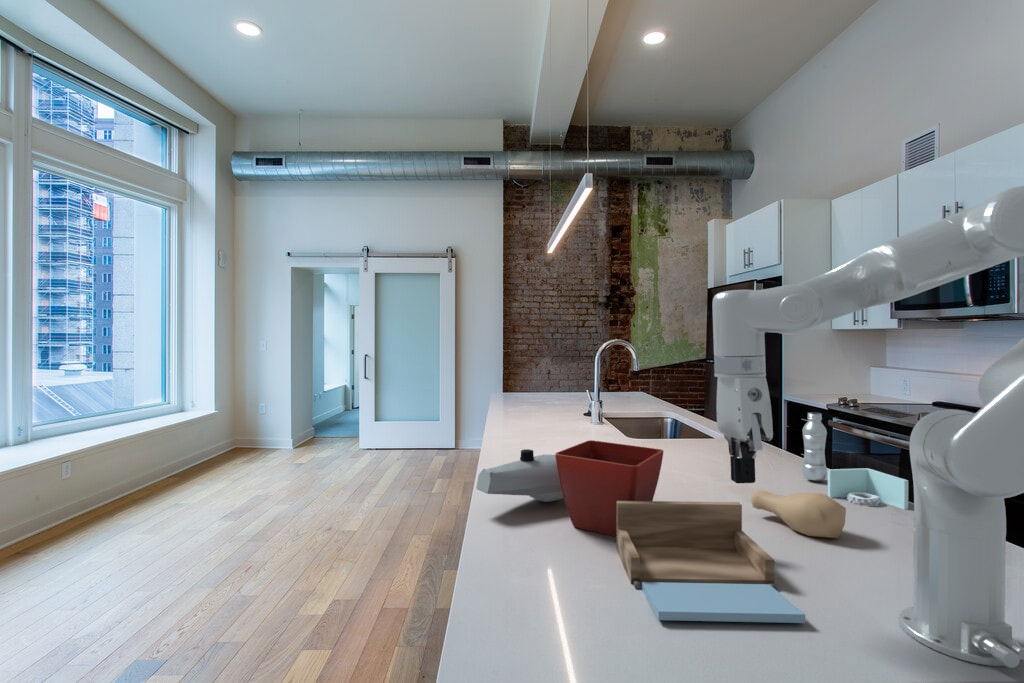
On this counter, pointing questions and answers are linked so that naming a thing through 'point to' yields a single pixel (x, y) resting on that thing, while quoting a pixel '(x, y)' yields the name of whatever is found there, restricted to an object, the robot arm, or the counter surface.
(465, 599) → the counter surface
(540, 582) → the counter surface
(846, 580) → the counter surface
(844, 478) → the l-shaped corner panel
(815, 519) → the squash
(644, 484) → the plant pot
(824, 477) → the plastic bottle
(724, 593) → the panel
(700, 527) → the box
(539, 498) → the street light
